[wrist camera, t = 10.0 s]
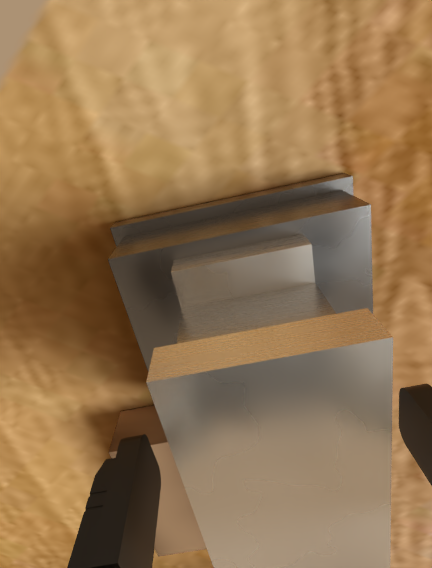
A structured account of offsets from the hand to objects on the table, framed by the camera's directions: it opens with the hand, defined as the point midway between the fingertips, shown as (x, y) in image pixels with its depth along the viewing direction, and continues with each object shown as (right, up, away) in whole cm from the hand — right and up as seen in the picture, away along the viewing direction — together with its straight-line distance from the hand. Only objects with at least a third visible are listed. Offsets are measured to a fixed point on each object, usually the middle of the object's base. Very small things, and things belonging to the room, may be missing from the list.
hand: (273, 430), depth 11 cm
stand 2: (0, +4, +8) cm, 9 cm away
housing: (0, +2, +4) cm, 5 cm away
